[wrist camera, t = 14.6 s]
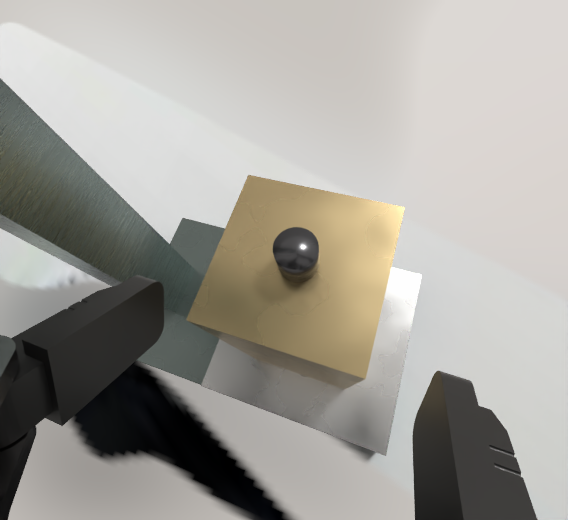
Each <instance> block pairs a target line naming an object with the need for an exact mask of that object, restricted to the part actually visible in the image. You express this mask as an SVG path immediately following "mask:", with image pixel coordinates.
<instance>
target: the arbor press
mask: <svg viewBox="0 0 568 520" xmlns="http://www.w3.org/2000/svg"><path fill="white" fill-rule="evenodd" d="M0 228H1V229H3V230H5V231H7V232H9V233H11V234H13V235H15V236H16V237H18V238H20V239H22V240H24V241H26V242H28V243H30V244H32V245H34V246H36V247H38V248H39V249H41V250H43V251H45V252H47V253H49V254H51V255H53V256H55V257H57V258H59V259H60V260H62V261H64V262H66V263H68V264H70V265H72V266H74V267H76V268H78V269H80V270H82V271H83V272H85V273H87V274H89V275H91V276H93V277H95V278H97V279H99V280H101V281H103V282H105V283H106V284H108V285H110V286H112V287H113V286H117V285H119V284H121V283H123V282H124V281H126V280H128V279H130V278H131V277H133V276H136V275H139V276H143V277H146V278H149V279H152V280H155V281H158V282H161V283H162V285H163V288H164V328H163V331H162V334H161V336H160V338H159V339H158V341H157V342H156V343H155V344H154V345H153V346H152V347H151V348H150V349H148V350H147V351H146V352H145V353H144V354H143V355H142V356H141V357H139V358H138V359H137V361H140V362H142V363H145V364H148V365H150V366H153V367H156V368H158V369H161V370H164V371H166V372H169V373H171V374H174V375H177V376H179V377H182V378H185V379H187V380H190V381H193V382H195V383H198V384H200V385H201V386H203V387H206V388H208V389H211V390H214V391H216V392H219V393H222V394H224V395H227V396H230V397H232V398H235V399H238V400H240V401H243V402H245V403H248V404H250V405H253V406H256V407H258V408H261V409H264V410H266V411H269V412H272V413H274V414H277V415H280V416H282V417H285V418H287V419H290V420H293V421H295V422H298V423H301V424H303V425H306V426H309V427H311V428H314V429H316V430H319V431H322V432H324V433H327V434H330V435H332V436H335V437H337V438H340V439H343V440H345V441H348V442H351V443H353V444H356V445H359V446H361V447H364V448H366V449H369V450H372V451H374V452H377V453H380V454H382V455H385V456H386V452H387V447H388V442H389V437H390V432H391V427H392V422H393V417H394V412H395V407H396V402H397V397H398V392H399V387H400V382H401V377H402V372H403V367H404V362H405V357H406V352H407V347H408V342H409V337H410V332H411V327H412V322H413V317H414V312H415V307H416V302H417V297H418V292H419V286H420V281H421V276H422V275H421V274H417V273H413V272H409V271H405V270H401V269H397V268H393V267H391V270H390V275H389V279H388V284H387V288H386V292H385V297H384V301H383V305H382V310H381V314H380V319H379V323H378V327H377V332H376V336H375V340H374V345H373V349H372V353H371V358H370V362H369V367H368V371H367V375H366V379H365V380H363V381H361V382H359V383H357V384H355V385H353V386H351V387H349V388H347V389H342V388H339V387H336V386H333V385H330V384H328V383H325V382H322V381H319V380H316V379H313V378H310V377H307V376H304V375H301V374H298V373H295V372H292V371H289V370H286V369H283V368H280V367H277V366H275V365H272V364H269V363H266V362H263V361H260V360H257V359H255V358H253V357H251V356H249V355H248V354H246V353H244V352H242V351H240V350H239V349H237V348H235V347H233V346H231V345H230V344H228V343H226V342H224V341H222V340H221V339H219V338H217V337H215V336H213V335H212V334H210V333H208V332H206V331H204V330H203V329H201V328H199V327H197V326H196V325H194V324H192V323H190V322H188V321H187V320H186V319H187V317H188V314H189V312H190V310H191V307H192V305H193V303H194V300H195V298H196V296H197V293H198V291H199V289H200V286H201V284H202V282H203V280H204V277H205V275H206V273H207V270H208V268H209V266H210V263H211V261H212V259H213V256H214V254H215V252H216V249H217V247H218V245H219V242H220V240H221V238H222V235H223V233H224V231H225V229H224V228H220V227H216V226H213V225H209V224H205V223H201V222H197V221H193V220H189V219H185V218H182V220H181V222H180V224H179V226H178V229H177V231H176V233H175V235H174V237H173V239H172V241H171V243H170V244H169V243H168V242H167V241H166V240H165V239H163V238H162V237H161V236H160V235H159V234H158V233H157V232H156V231H155V230H154V229H153V228H152V227H151V226H150V225H149V224H148V223H147V222H146V221H145V220H144V219H143V218H142V217H141V216H140V215H139V214H138V213H137V212H136V211H135V210H134V209H133V208H132V207H131V206H130V205H129V204H128V203H127V202H126V201H125V200H124V199H123V198H122V197H121V196H120V195H119V194H118V193H117V192H116V191H115V190H114V189H113V188H111V187H110V186H109V185H108V184H107V183H106V182H105V181H104V180H103V179H102V178H101V177H100V176H99V175H98V174H97V173H96V172H95V171H94V170H93V169H92V168H91V167H90V166H89V165H88V164H87V163H86V162H85V161H84V160H83V159H82V158H81V157H80V156H79V155H78V154H77V153H76V152H75V151H74V150H73V149H72V148H71V147H70V146H69V145H68V144H67V143H66V142H65V141H64V140H63V139H62V138H61V137H60V136H58V135H57V134H56V133H55V132H54V131H53V130H52V129H51V128H50V127H49V126H48V125H47V124H46V123H45V122H44V121H43V120H42V119H41V118H40V117H39V116H38V115H37V114H36V113H35V112H34V111H33V110H32V109H31V108H30V107H29V106H28V105H27V104H26V103H25V102H24V101H23V100H22V99H21V98H20V97H19V96H18V95H17V94H16V93H15V92H14V91H13V90H12V89H11V88H10V87H9V86H8V85H6V84H5V83H4V82H3V81H2V80H1V79H0Z"/></svg>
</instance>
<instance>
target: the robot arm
mask: <svg viewBox="0 0 568 520" xmlns="http://www.w3.org/2000/svg"><path fill="white" fill-rule="evenodd" d="M163 328H164V288H163V285H162V283H161V282H158V281H155V280H152V279H149V278H146V277H143V276H139V275H136V276H133V277H131V278H130V279H128V280H126V281H124V282H123V283H121V284H119V285H117V286H113V287H110V288H107V289H103V290H100V291H97V292H95V293H94V294H91V295H90V296H88V297H86V298H84V299H82V301H81V302H77V303H75V304H73V305H71V306H70V307H69V308H68V309H64V310H62V311H60V312H59V313H57V314H55V315H53V316H51V317H49V318H48V319H46V320H44V321H42V322H40V323H38V324H37V325H35V326H33V327H31V328H29V329H28V330H26V331H24V332H22V333H20V334H19V335H17V336H15V337H13V338H9V337H6V336H1V335H0V520H8V516H9V511H10V508H11V505H12V502H13V499H14V496H15V494H16V491H17V488H18V485H19V482H20V479H21V476H22V474H23V471H24V468H25V465H26V462H27V459H28V456H29V453H30V451H31V448H32V445H33V442H34V439H35V436H36V426H35V425H37V424H38V423H39V422H40V421H41V420H43V419H44V418H47V419H49V420H51V421H53V422H55V423H57V424H59V425H61V426H63V425H64V424H65V423H66V422H67V421H68V420H69V419H71V418H72V417H73V416H74V415H75V414H76V413H77V412H78V411H80V410H81V409H82V408H83V407H84V406H85V405H86V404H87V403H89V402H90V401H91V400H92V399H93V398H94V397H95V396H97V395H98V394H99V393H100V392H101V391H102V390H103V389H104V388H106V387H107V386H108V385H109V384H110V383H111V382H112V381H113V380H115V379H116V378H117V377H118V376H119V375H120V374H121V373H122V372H124V371H125V370H126V369H127V368H128V367H129V366H130V365H131V364H133V363H134V362H135V361H136V360H137V359H138V358H139V357H141V356H142V355H143V354H144V353H145V352H146V351H147V350H148V349H150V348H151V347H152V346H153V345H154V344H155V343H156V342H157V341H158V339H159V338H160V336H161V334H162V331H163ZM514 454H515V453H514V450H513V447H512V444H511V441H510V438H509V435H508V433H507V431H506V429H505V428H504V427H503V425H502V424H501V423H500V421H499V420H498V419H497V417H496V416H495V414H494V413H493V412H492V410H490V409H487V408H484V407H480V406H478V402H477V398H476V395H475V391H474V387H473V384H472V382H471V381H469V380H466V379H463V378H460V377H457V376H454V375H450V374H447V373H444V372H441V371H437V372H436V373H435V374H434V376H433V378H432V380H431V383H430V385H429V387H428V390H427V392H426V394H425V397H424V399H423V401H422V404H421V406H420V408H419V410H418V413H417V416H416V419H415V423H414V428H413V467H414V499H415V520H537V518H536V515H535V512H534V509H533V506H532V503H531V500H530V497H529V494H528V491H527V488H526V485H525V483H524V480H523V478H522V477H521V471H520V468H519V465H518V462H517V459H516V458H515V457H514Z"/></svg>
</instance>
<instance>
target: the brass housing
mask: <svg viewBox="0 0 568 520" xmlns="http://www.w3.org/2000/svg"><path fill="white" fill-rule="evenodd" d="M404 209H405V207H401V206H396V205H391V204H387V203H382V202H377V201H372V200H367V199H362V198H357V197H353V196H348V195H343V194H338V193H333V192H328V191H324V190H319V189H314V188H309V187H304V186H299V185H295V184H290V183H285V182H280V181H275V180H270V179H266V178H261V177H256V176H251V175H248V177H247V180H246V182H245V184H244V187H243V189H242V191H241V194H240V196H239V198H238V201H237V203H236V205H235V207H234V210H233V212H232V214H231V217H230V219H229V221H228V224H227V226H226V228H225V231H224V233H223V235H222V238H221V240H220V242H219V245H218V247H217V249H216V252H215V254H214V256H213V259H212V261H211V263H210V266H209V268H208V270H207V273H206V275H205V277H204V280H203V282H202V284H201V286H200V289H199V291H198V293H197V296H196V298H195V300H194V303H193V305H192V307H191V310H190V312H189V314H188V317H187V319H186V320H187V321H188V322H190V323H192V324H194V325H196V326H197V327H199V328H201V329H203V330H204V331H206V332H208V333H210V334H212V335H213V336H215V337H217V338H219V339H221V340H222V341H224V342H226V343H228V344H230V345H231V346H233V347H235V348H237V349H239V350H240V351H242V352H244V353H246V354H248V355H249V356H251V357H253V358H255V359H257V360H260V361H263V362H266V363H269V364H272V365H275V366H277V367H280V368H283V369H286V370H289V371H292V372H295V373H298V374H301V375H304V376H307V377H310V378H313V379H316V380H319V381H322V382H325V383H328V384H330V385H333V386H336V387H339V388H342V389H347V388H349V387H351V386H353V385H355V384H357V383H359V382H361V381H363V380H365V379H366V375H367V371H368V367H369V362H370V358H371V353H372V349H373V345H374V340H375V336H376V332H377V327H378V323H379V319H380V314H381V310H382V305H383V301H384V297H385V292H386V288H387V284H388V279H389V275H390V270H391V266H392V262H393V257H394V253H395V249H396V244H397V240H398V236H399V231H400V227H401V222H402V218H403V214H404Z"/></svg>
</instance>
